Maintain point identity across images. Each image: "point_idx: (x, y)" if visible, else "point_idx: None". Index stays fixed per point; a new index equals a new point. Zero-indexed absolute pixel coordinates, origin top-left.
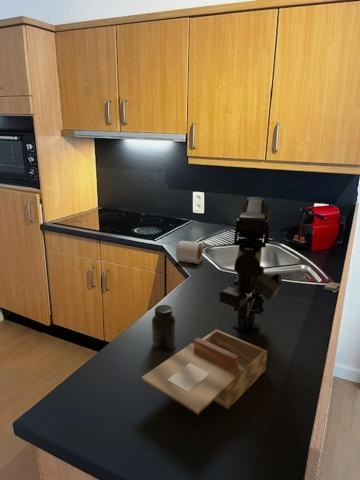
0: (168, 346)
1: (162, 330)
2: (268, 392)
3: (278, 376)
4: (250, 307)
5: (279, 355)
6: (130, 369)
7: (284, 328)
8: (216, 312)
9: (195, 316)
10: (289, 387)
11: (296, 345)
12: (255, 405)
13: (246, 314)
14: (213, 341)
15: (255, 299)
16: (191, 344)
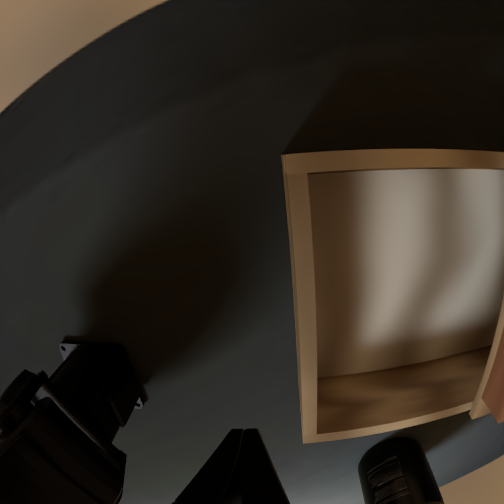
0: (413, 447)
1: (439, 491)
2: (386, 78)
3: (271, 94)
4: (212, 499)
5: (138, 177)
6: None
7: (8, 271)
8: (133, 461)
9: None
10: (298, 33)
11: (42, 176)
12: (464, 89)
13: (268, 455)
14: (335, 403)
15: (34, 451)
16: (480, 413)
